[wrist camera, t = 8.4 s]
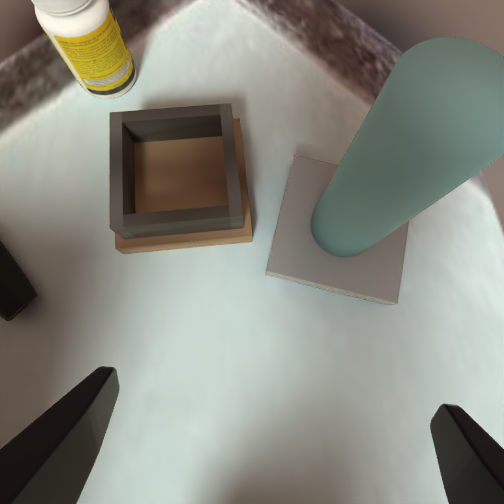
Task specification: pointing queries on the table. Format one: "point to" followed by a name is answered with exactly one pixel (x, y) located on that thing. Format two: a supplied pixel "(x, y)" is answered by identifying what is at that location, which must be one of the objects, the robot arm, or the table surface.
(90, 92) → the supplement bottle
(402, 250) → the pad
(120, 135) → the socket
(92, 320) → the table surface
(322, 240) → the peg
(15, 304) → the electric trimmer
